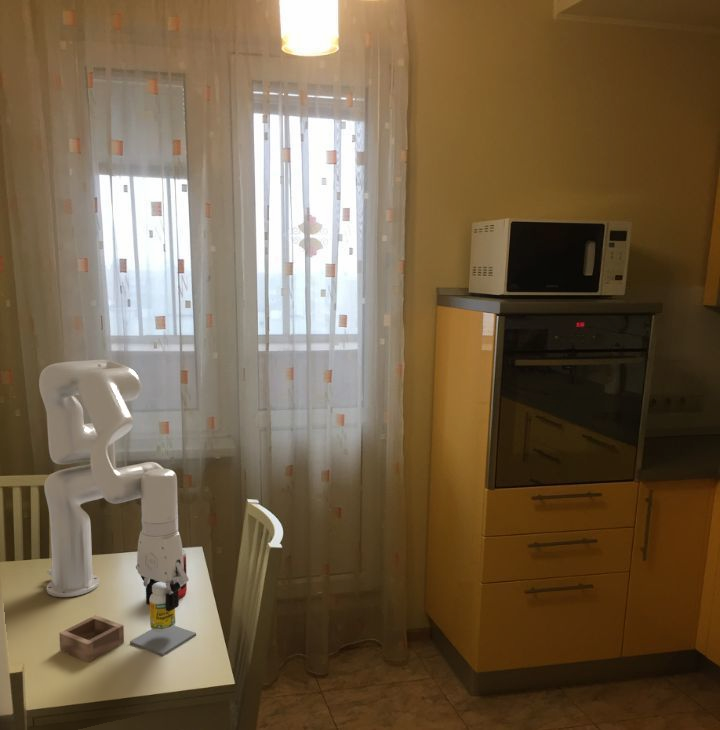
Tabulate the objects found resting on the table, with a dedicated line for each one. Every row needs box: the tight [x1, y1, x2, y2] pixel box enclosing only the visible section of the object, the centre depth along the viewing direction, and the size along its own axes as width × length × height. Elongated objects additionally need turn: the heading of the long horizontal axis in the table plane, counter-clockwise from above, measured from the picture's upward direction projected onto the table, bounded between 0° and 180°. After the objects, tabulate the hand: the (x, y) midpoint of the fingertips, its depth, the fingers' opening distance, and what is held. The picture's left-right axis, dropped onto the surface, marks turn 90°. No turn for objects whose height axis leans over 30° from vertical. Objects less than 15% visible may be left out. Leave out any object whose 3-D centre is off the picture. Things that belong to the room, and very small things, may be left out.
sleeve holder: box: [58, 614, 125, 663], centre depth 143 cm, size 9×9×4 cm
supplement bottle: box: [149, 582, 176, 632], centre depth 146 cm, size 5×5×10 cm
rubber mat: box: [129, 625, 197, 657], centre depth 147 cm, size 10×10×1 cm
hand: (162, 604), depth 146 cm, fingers closed on supplement bottle, 5 cm apart
